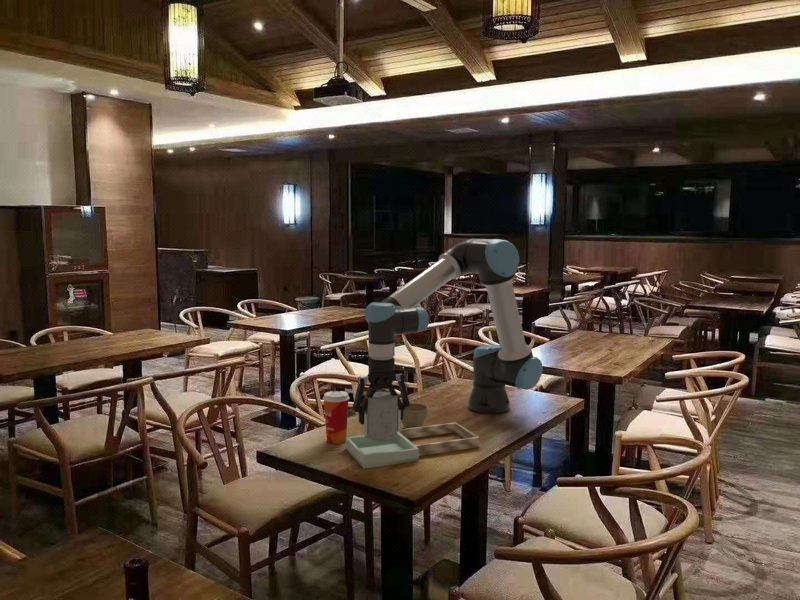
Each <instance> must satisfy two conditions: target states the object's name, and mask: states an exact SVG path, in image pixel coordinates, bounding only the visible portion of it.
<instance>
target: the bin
mask: <svg viewBox="0 0 800 600" xmlns="http://www.w3.org/2000/svg"><path fill="white" fill-rule="evenodd" d="M397 435H398V437H397V438H396V439H395V440H392V441H387V442H376V441H371V440H368V439H366V438H365V436H364V435H363V434H362V435H356V436H355V435H354V436H348V437H347V436H346V442H345V450H346V451H347V452H348V453H349V455H351V456H352V457H353V458H354V459H355V461H356V462H357V463H358V465H360V467H361V468H362V469H363V470H365V469H372V468H377V467H385V466H392V465H398V464H407V463H412V462H419V460H420V456H419V449H418V448H417V447H416V446H415V445H416V444H414V443H413V442H412V441H411V440H410V439H409V438H408V439H406V438H405V437H404V436H403V435H402V434H400V433H399V432H397ZM410 441H411V442H412V443H413V444H412V443H411V442H410Z"/></svg>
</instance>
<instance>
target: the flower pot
mask: <svg viewBox="0 0 800 600" xmlns="http://www.w3.org/2000/svg"><path fill="white" fill-rule="evenodd" d="M409 403H410V406H409V407H405V410H403V420H401V424H402V425H403V427H404V429H407V428H415V427H423V426H424V425H423V424H424V422H425V420H426V418H427V416H428V412H429V411H428V410H429V407H428V406H427V405H426V404H423V403H416V402H409Z"/></svg>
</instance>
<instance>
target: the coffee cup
mask: <svg viewBox="0 0 800 600" xmlns="http://www.w3.org/2000/svg"><path fill="white" fill-rule="evenodd" d="M322 400H323V407H324V419H325V421H324V422H325V433H326V442H327V443H328V444H332V445H340V444H345V443H346V437H347V435H348V431H347V430H348V418H349V417H348V416H349V415H348V414H349V413H348V412H349V401H350V396H349V393H348V392H347V391H344V390H340V391H338V390H331V391H327V392H325V393H324V395H323V397H322Z"/></svg>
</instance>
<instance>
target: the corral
mask: <svg viewBox="0 0 800 600" xmlns="http://www.w3.org/2000/svg"><path fill="white" fill-rule="evenodd" d="M399 433H400V434H402V435H403V436H404V437H405V438H406V439H408V440H409V439H414V438H421V437H422V438H423V437H429V436H430V437H431V436H437V435H443V434H450V433H451V434H452V433H453V434H454V433H455V434H456V435H458V436H459V437H461V438H459V439H451V440H443V441H437V442H429V443H422V444H414V443H413V442H412V441H411V440H409V441H410V442H411V443H412V444H414V445H415V446H416V447H417V448H418V449H419V457H420V456H425V455H426V456H427V455H434V454H440V453H447V452H455V451H461V450H468V449H475V448H476V449H477V448H480V437H479V436H478V435H476V434H475V433H473V432H472V431H470V430H468V429H467V428H466V427H464V426H462V425H461V424H459V423H457V422H447V423H440V424H433V425H426V426H425V425H422V426H421V427H415V428H407V429H405V428H401V432H399Z"/></svg>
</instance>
